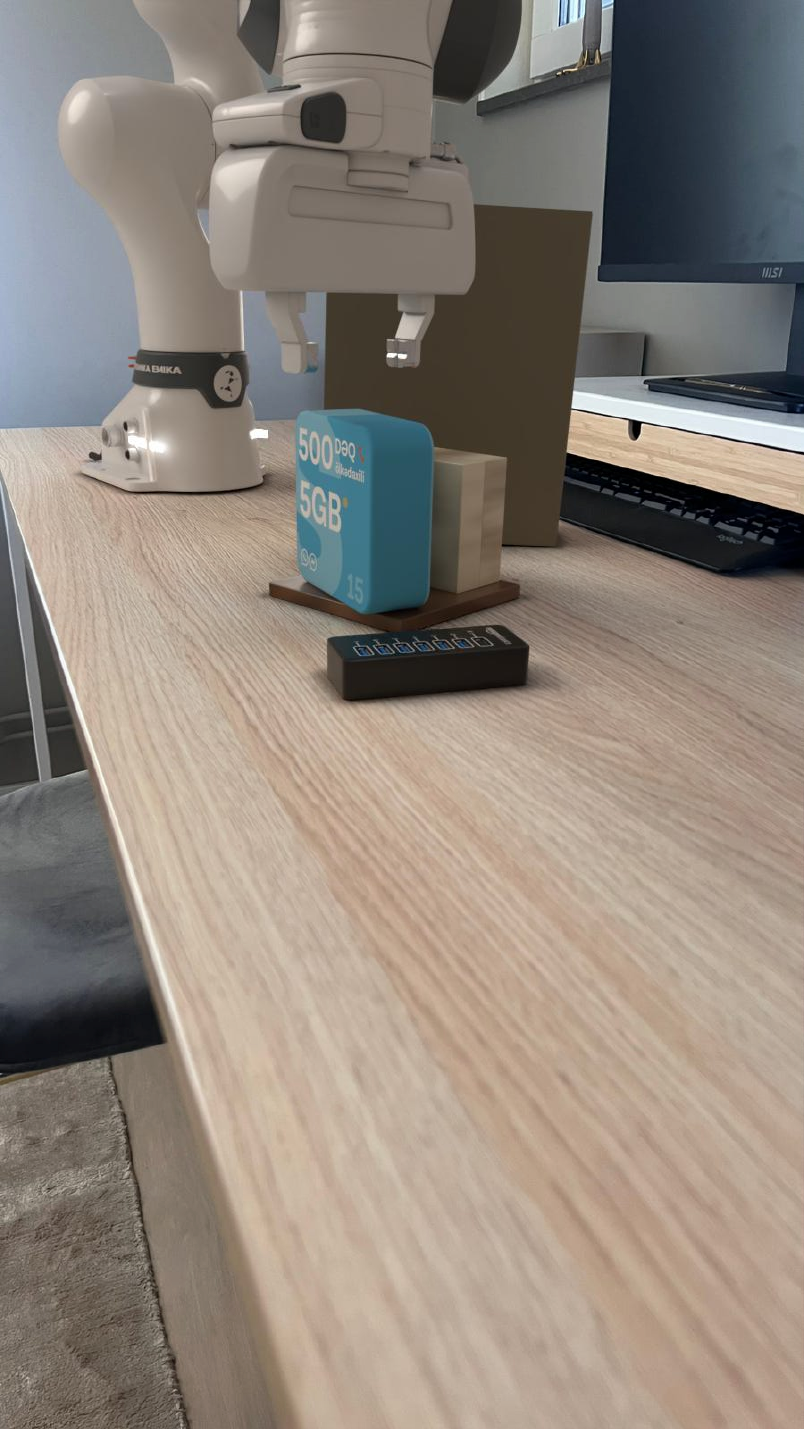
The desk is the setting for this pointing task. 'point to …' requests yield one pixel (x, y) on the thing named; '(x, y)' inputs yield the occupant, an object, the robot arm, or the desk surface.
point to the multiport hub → (426, 661)
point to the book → (483, 358)
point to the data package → (364, 507)
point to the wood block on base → (442, 549)
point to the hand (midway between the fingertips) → (353, 370)
